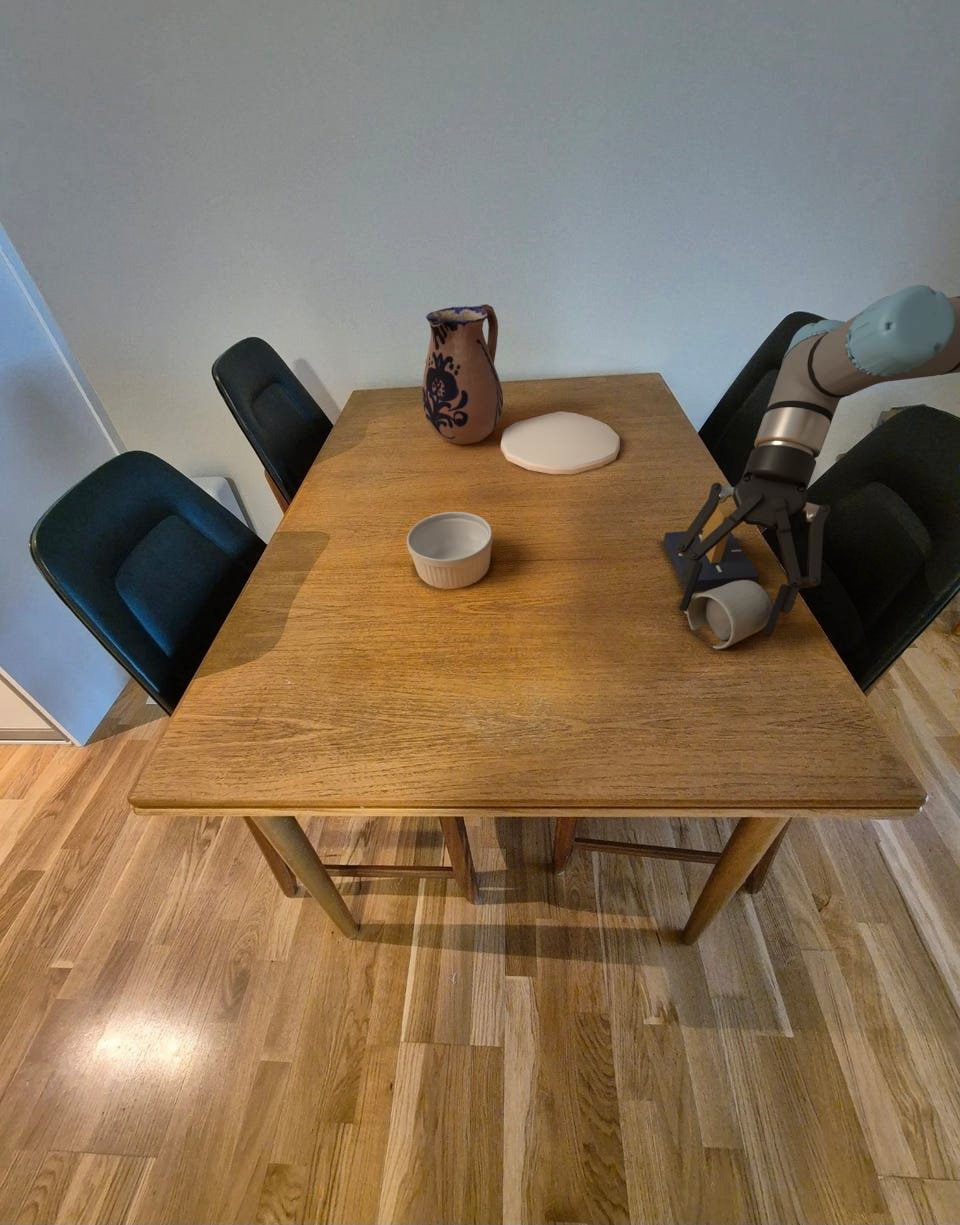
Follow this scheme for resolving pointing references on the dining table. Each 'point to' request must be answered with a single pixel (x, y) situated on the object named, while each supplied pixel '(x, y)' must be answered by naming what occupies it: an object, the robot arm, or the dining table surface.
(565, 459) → the decorative plate
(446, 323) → the ceramic pitcher
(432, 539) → the ramekin
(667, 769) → the dining table surface
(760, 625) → the ceramic mug
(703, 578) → the panel
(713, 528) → the knob
